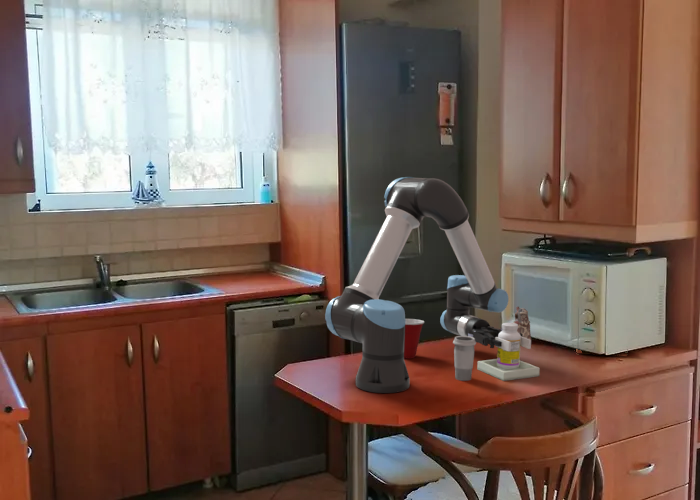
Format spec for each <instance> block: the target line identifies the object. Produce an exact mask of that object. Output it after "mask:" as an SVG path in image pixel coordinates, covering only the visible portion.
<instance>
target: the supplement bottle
mask: <svg viewBox="0 0 700 500" xmlns="http://www.w3.org/2000/svg"><path fill="white" fill-rule="evenodd" d="M501 328H502V329H503V330H502V331H501V332H500V333H499V334H498V337H499V338H501V339H504V340H507V341H509V342H511V351H506V350H504V349H501V348H498V347H497V350H496V351H497V353H496V357H497V358H496V359H497V365H498V366H500V367H502V368H510V369H512V368H517V367H519V364H520V358H521V346H520V342H521V335H520V334H519V333H518V332H517V329H518V324H516V323H513V322H503V323H501Z"/></svg>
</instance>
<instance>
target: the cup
mask: <svg viewBox="0 0 700 500" xmlns="http://www.w3.org/2000/svg"><path fill="white" fill-rule="evenodd" d="M452 344H453V345H454V348H453V354H454V355H453V358H454V378H455V380H457V381H462V382H465V381H466V382H467V381H471V380H472V374H473V368H474V359H475V346H476V344H477V342H476V341H475V338H473V337H470V336H460V335H456V336H454V339H453V341H452Z"/></svg>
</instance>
